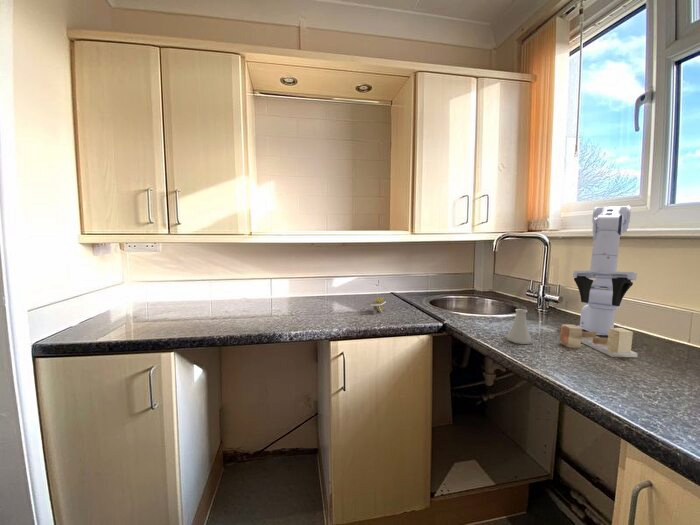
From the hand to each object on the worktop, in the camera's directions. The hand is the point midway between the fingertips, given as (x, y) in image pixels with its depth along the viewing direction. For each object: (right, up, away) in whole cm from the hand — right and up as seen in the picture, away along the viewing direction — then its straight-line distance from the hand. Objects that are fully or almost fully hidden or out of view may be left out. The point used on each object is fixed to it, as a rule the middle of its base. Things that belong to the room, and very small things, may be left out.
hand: (599, 304), depth 85 cm
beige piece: (+6, -14, +7) cm, 17 cm away
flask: (-17, -13, +11) cm, 24 cm away
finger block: (-3, -14, +8) cm, 16 cm away
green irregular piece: (-58, -10, +42) cm, 73 cm away
